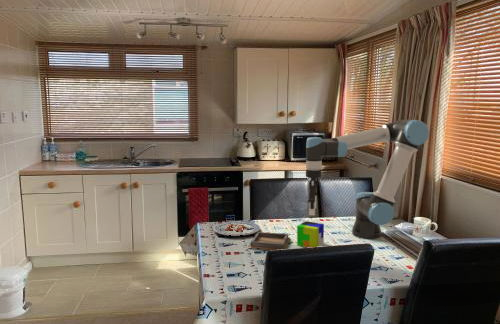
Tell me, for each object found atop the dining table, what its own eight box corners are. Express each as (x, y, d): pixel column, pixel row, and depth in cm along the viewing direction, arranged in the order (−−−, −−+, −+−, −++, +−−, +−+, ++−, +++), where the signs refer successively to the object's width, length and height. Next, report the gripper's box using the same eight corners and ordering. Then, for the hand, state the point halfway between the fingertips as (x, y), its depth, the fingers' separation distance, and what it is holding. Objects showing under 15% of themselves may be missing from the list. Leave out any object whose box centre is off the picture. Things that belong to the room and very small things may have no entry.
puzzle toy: (323, 243, 195) (323, 224, 194) (315, 249, 187) (316, 229, 185) (305, 239, 200) (305, 221, 199) (297, 245, 192) (297, 226, 191)
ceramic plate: (206, 236, 208) (205, 230, 207) (225, 223, 232) (225, 218, 231) (250, 241, 199) (250, 235, 198) (265, 227, 223) (265, 222, 222)
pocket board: (256, 236, 205) (256, 231, 205) (290, 239, 201) (290, 233, 200) (248, 248, 188) (248, 242, 188) (284, 251, 184) (284, 245, 183)
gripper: (307, 165, 200) (306, 205, 203) (303, 172, 176) (303, 217, 179) (322, 165, 198) (321, 205, 201) (320, 173, 174) (319, 218, 177)
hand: (312, 211), depth 190 cm, fingers open, 13 cm apart
